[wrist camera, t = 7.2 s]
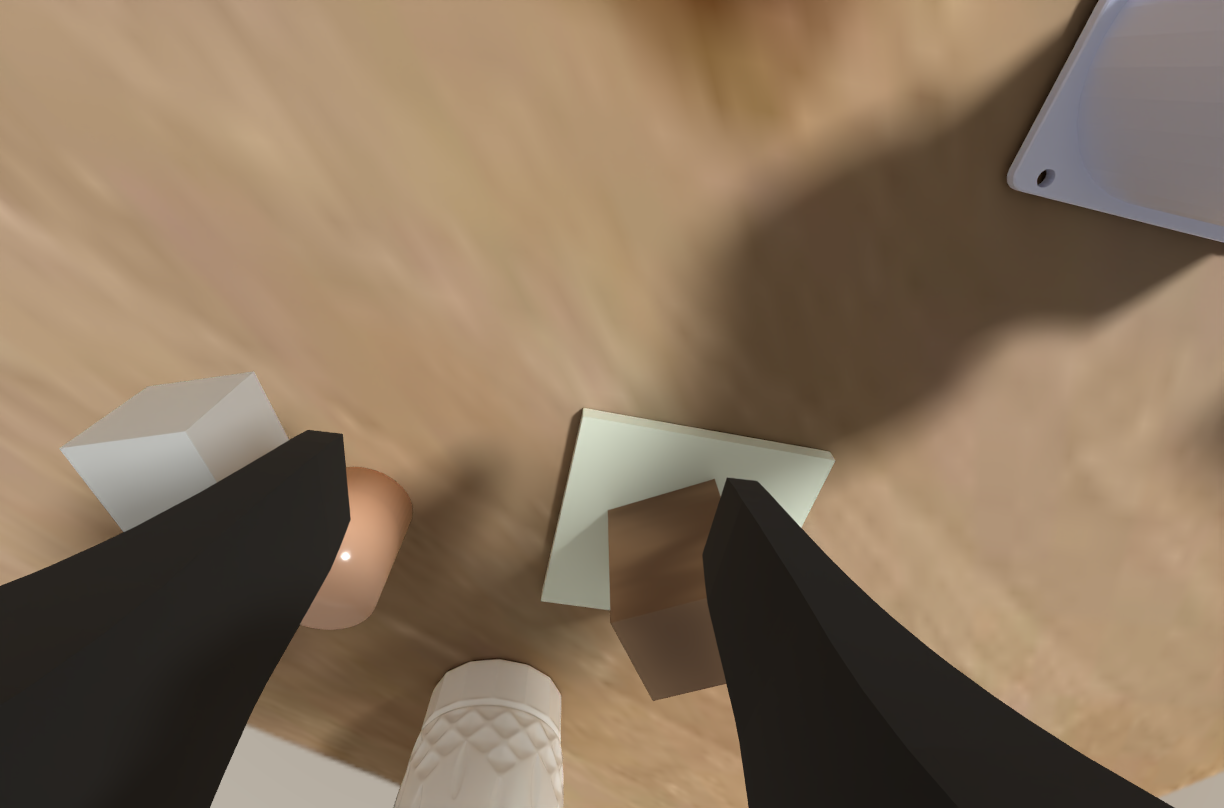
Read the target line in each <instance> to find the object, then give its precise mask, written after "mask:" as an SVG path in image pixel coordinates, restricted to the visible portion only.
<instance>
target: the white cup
mask: <svg viewBox="0 0 1224 808" xmlns="http://www.w3.org/2000/svg"><path fill="white" fill-rule="evenodd" d="M394 808H564V785H563V754H562V750H561V694H560V692H559V691H558V689H557V688H556V686H555V684H554V683H553V681H552V680H551V678H550V677H548V676H547V675H545V674H543V673H542V672H540V671H538V670H536V669H535V668H533V667H531V666H529V665H527V664H522V663H517V662H512V661H507V660H502V659H493V660H481V661H471V662H468V663H466V664H464V665H461V666H459V667H457V668H455V669H452V670H450V671H448V672H446V674H445V675H444V676H443V678H442V679H441V680H440V681H439V683H438V684H437V685H436V687H435V688H434V690H433V693H432V696H431V699H430V702H429V706H428V709H427V712H426V716H425V719H424V722H423V726H422V729H421V732H420V734H419V736H418V738H417V741H416V743H415V745H414V748H413V751H412V753H411V756H410V759H409V763H408V767H407V771H406V773H405V776H404V778H403V781H402V783H401V786H400V789H399V792H398V795H397V798H396V801H395V804H394Z"/></svg>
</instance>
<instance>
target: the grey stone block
mask: <svg viewBox="0 0 1224 808" xmlns="http://www.w3.org/2000/svg"><path fill="white" fill-rule="evenodd" d="M287 441H289V439H288V437H287V435H286V433H285V431H284V429H283V427H282V425H281V423H280V421H279V419H278V417H277V416H276V414H275V412H274V410H273V408H272V406H271V404H270V402H269V400H268V398H267V396H266V394H265V392H264V390H263V388H262V386H261V384H260V382H259V380H258V379H257V377H256V375H255V373H254V372H247V373H240V374H232V375H225V376H218V377H211V378H204V379H197V380H190V381H183V382H175V383H168V384H161V385H154V386H148V387H146V388H145V389H143V390H142V391H141V392H139V393H138V394H136V395H135V396H133V397H132V398H131V399H129V400H128V401H126V402H125V403H123V404H122V405H121V406H119V407H118V408H116V409H115V410H113V411H112V412H111V413H109V414H108V415H106V416H105V417H103V418H102V419H100V420H99V421H98V422H96V423H95V424H93V425H92V426H90V427H89V428H88V429H86V430H85V431H83V432H82V433H80V434H79V435H78V436H76V437H75V438H73V439H72V440H70V441H69V442H68V443H66V444H65V445H63V446H62V447H60V448H59V449H60V450H61V451H62V453H63V454H64V455H65V457H66V458H67V459H68V460H69V462H70V463H71V464H72V466H73V467H74V468H75V470H76V471H77V472H78V473H79V475H80V476H81V477H82V479H83V480H84V481H85V483H86V484H87V485H88V486H89V488H90V489H91V490H92V492H93V493H94V494H95V496H96V497H97V498H98V499H99V501H100V502H101V503H102V505H103V506H104V507H105V509H106V510H107V511H108V512H109V514H110V515H111V516H112V518H113V519H114V520H115V522H116V523H117V524H118V525H119V527H120V528H121V529H122V531H123V532H125V531H127V530H129V529H131V528H133V527H135V526H137V525H139V524H141V523H143V522H145V521H147V520H149V519H151V518H152V517H154V516H156V515H158V514H160V513H162V512H164V511H166V510H168V509H169V508H171V507H173V506H175V505H177V504H179V503H181V502H183V501H184V500H186V499H188V498H190V497H192V496H194V495H196V494H198V493H200V492H201V491H203V490H205V489H207V488H208V487H210V486H212V485H214V484H215V483H217V482H219V481H220V480H222V479H224V478H226V477H227V476H229V475H231V474H232V473H234V472H236V471H238V470H239V469H241V468H243V467H245V466H246V465H248V464H250V463H251V462H253V461H255V460H256V459H258V458H260V457H261V456H263V455H265V454H267V453H268V452H270V451H272V450H273V449H275V448H277V447H278V446H280V445H282V444H283V443H285V442H287Z"/></svg>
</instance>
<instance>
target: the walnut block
mask: <svg viewBox="0 0 1224 808" xmlns="http://www.w3.org/2000/svg"><path fill="white" fill-rule="evenodd" d="M720 498H721V496H720V493H719V490H718V487H717V484H716V481H715V479H712V480H709V481H706V482H702V483H699V484H695V485H692V486H689V487H685V488H682V489H678V490H675V491H672V492H668V493H665V494H661V495H658V496H655V497H651V498H648V499H644V500H641V501H638V502H634V503H631V504H627V505H624V506H620V507H617V508H614V509H610V510H608V543H609V582H610V621H611V625H612V627H613V629H614V630H615V632H616V634H617V636H618V638H619V640H620V641H621V643H622V645H623V647H624V649H625V651H626V652H627V654H628V656H629V658H630V660H631V662H632V664H633V665H634V667H635V669H636V671H637V673H638V675H639V676H640V678H641V680H642V682H643V684H644V686H645V687H646V689H647V691H648V693H649V695H650V697H651V698H652V700H653V701H655V700H659V699H664V698H668V697H672V696H676V695H680V694H685V693H689V692H693V691H697V690H702V689H706V688H710V687H714V686H718V685H723V684H726V680H725V676H724V671H723V667H722V663H721V659H720V655H719V651H718V647H717V643H716V638H715V634H714V630H713V626H712V621H711V617H710V613H709V608H708V604H707V596H706V588H705V579H704V568H703V558H702V554H703V550H704V547H705V544H706V541H707V538H708V535H709V532H710V529H711V526H712V522H713V519H714V516H715V513H716V510H717V507H718V504H719V501H720Z"/></svg>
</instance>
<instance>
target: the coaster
mask: <svg viewBox="0 0 1224 808" xmlns="http://www.w3.org/2000/svg"><path fill="white" fill-rule="evenodd" d="M834 462H835V459H834V457H833V456H832V454H831V453H830V452H829V451H824V450H818V449H812V448H807V447H801V446H795V445H790V444H784V443H778V442H773V441H767V440H762V439H756V438H750V437H745V436H739V435H733V434H728V433H722V432H716V431H711V430H705V429H700V428H694V427H688V426H683V425H677V424H671V423H666V422H660V421H654V420H649V419H643V418H638V417H632V416H626V415H621V414H615V413H609V412H604V411H598V410H592V409H587V408H583V412H582V416H581V420H580V425H579V429H578V434H577V438H576V442H575V447H574V451H573V456H572V460H571V465H570V469H569V473H568V478H567V482H566V487H565V491H564V495H563V500H562V504H561V509H560V513H559V517H558V522H557V526H556V531H555V535H554V540H553V544H552V548H551V553H550V557H549V562H548V566H547V570H546V575H545V579H544V584H543V588H542V594H541V601H543V602H551V603H558V604H566V605H574V606H581V607H589V608H596V609H604V610H610V582H609V543H608V510H610V509H614V508H617V507H620V506H624V505H627V504H631V503H634V502H638V501H641V500H644V499H648V498H651V497H655V496H658V495H661V494H665V493H668V492H672V491H675V490H678V489H682V488H685V487H689V486H692V485H695V484H699V483H702V482H706V481H709V480H712V479H715V481H716V484H717V487H718V490H719V493H720V496H721V494H722V491H723V488H724V485H725V482H726V479H727V477H728V478H736V479H745V480H754V481H758V482H759V483H760V484H761V485H762V486H763V487H764V488H765V489H766V490H767V491H768V492H769V493H770V494H771V495H772V497H773V498H774V499H775V500H776V501H777V502H778V503H779V504H780V505H781V506H782V507H783V509H784V510H785V511H786V512H787V513H788V514H789V515H790V516H791V517H792V518H793V519H794V521H795V522H796V523H797V524H798V525H799V526H800V527H802V525H803V523H804V521H805V519H806V517H807V515H808V513H809V511H810V509H811V507H812V505H813V503H814V501H815V499H816V498H817V496H818V494H819V492H820V490H821V488H822V486H823V484H824V482H825V480H826V478H827V476H828V474H829V472H830V470H831V468H832V466H833V464H834Z"/></svg>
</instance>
